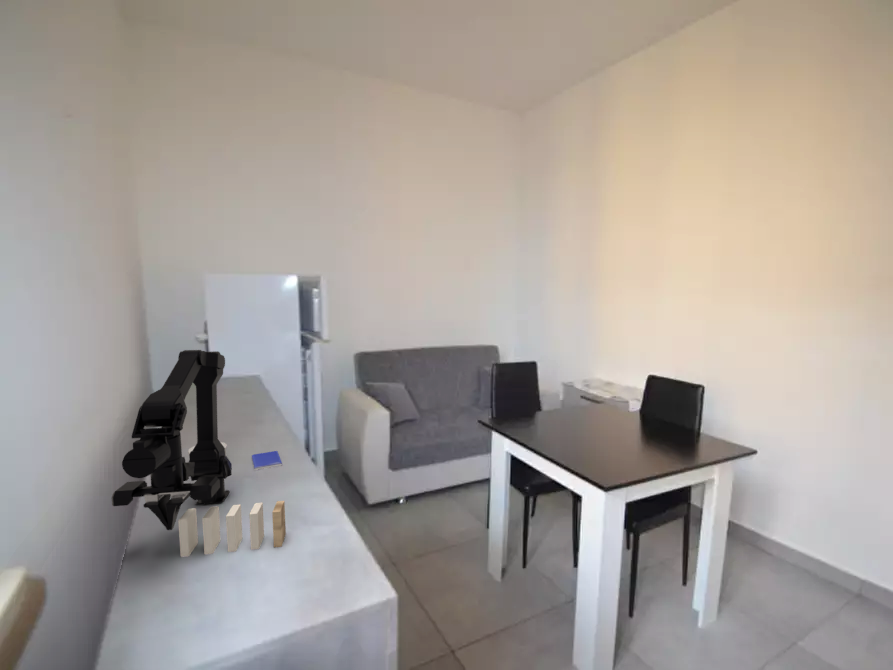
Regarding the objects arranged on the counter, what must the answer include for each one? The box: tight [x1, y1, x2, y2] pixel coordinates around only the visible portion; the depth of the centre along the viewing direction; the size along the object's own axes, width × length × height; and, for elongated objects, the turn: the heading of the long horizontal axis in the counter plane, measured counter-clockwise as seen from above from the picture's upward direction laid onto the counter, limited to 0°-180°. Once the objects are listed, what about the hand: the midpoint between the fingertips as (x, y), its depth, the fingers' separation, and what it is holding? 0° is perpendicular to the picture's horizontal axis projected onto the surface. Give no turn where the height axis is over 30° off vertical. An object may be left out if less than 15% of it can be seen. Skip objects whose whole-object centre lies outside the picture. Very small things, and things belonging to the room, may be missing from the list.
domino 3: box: [225, 504, 243, 553], centre depth 94 cm, size 5×2×8 cm, turn 10°
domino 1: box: [177, 507, 199, 558], centre depth 93 cm, size 5×2×8 cm, turn 10°
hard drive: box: [251, 450, 283, 471], centre depth 142 cm, size 2×8×12 cm
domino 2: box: [202, 505, 222, 556], centre depth 94 cm, size 5×2×8 cm, turn 10°
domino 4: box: [248, 502, 265, 551], centre depth 95 cm, size 5×2×8 cm, turn 10°
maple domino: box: [271, 500, 287, 548], centre depth 96 cm, size 5×2×8 cm, turn 10°
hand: (170, 529), depth 92 cm, fingers closed
